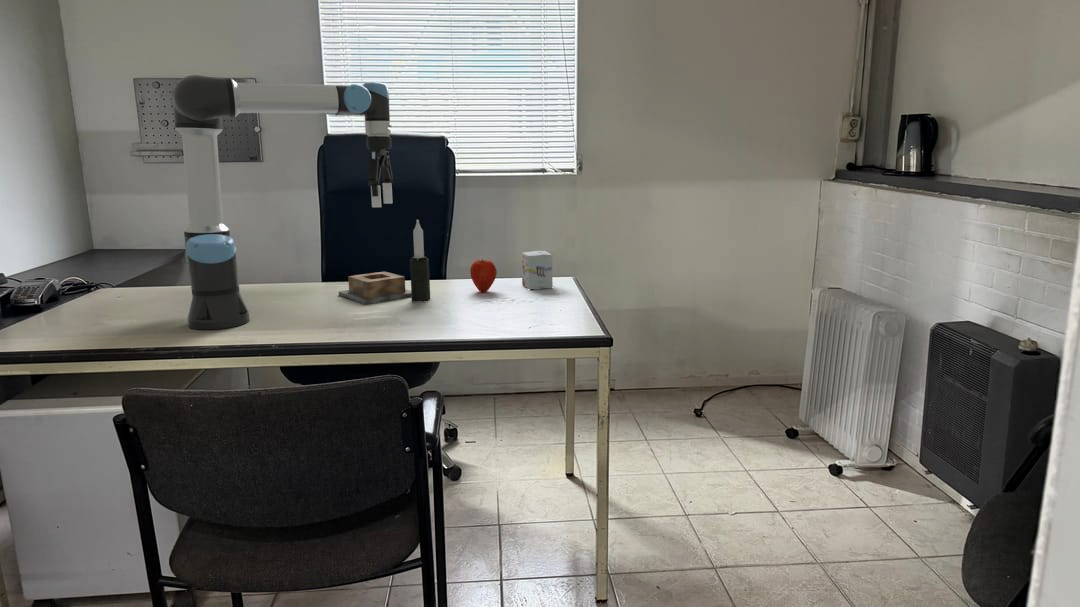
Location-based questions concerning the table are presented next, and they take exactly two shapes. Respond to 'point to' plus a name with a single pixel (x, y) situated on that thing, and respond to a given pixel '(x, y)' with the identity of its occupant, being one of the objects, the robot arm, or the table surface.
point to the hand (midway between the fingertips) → (382, 205)
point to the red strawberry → (483, 274)
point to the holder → (376, 287)
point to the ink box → (537, 269)
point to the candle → (419, 268)
